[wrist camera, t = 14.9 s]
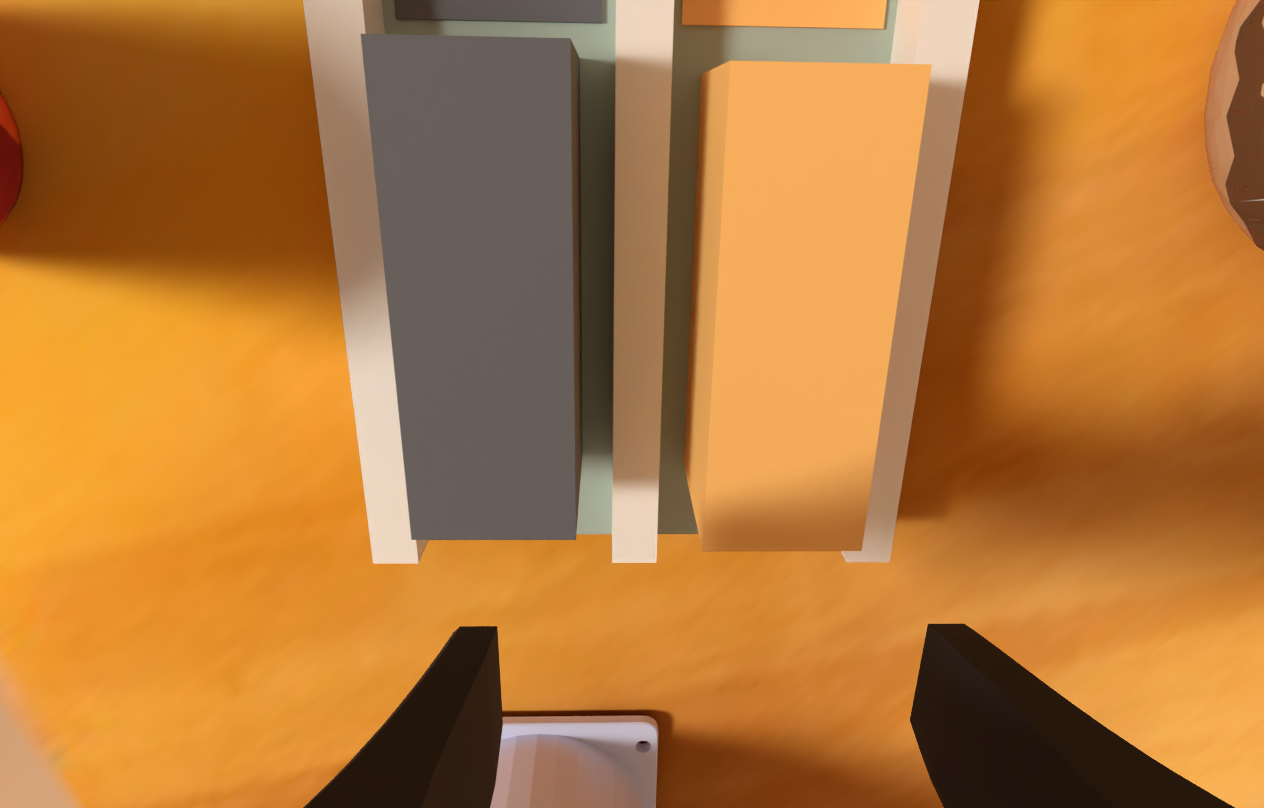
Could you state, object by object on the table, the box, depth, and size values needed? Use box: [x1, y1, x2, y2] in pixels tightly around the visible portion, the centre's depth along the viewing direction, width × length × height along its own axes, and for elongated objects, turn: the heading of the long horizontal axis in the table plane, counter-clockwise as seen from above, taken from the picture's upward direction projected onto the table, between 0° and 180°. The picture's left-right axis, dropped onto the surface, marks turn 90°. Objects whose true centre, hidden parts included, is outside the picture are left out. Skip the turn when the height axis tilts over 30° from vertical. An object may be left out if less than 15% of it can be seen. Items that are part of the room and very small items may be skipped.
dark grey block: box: [361, 34, 583, 540], centre depth 17 cm, size 10×4×4 cm, turn 179°
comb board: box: [303, 0, 980, 563], centre depth 19 cm, size 15×14×2 cm
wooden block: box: [684, 61, 932, 551], centre depth 17 cm, size 10×4×4 cm, turn 179°
